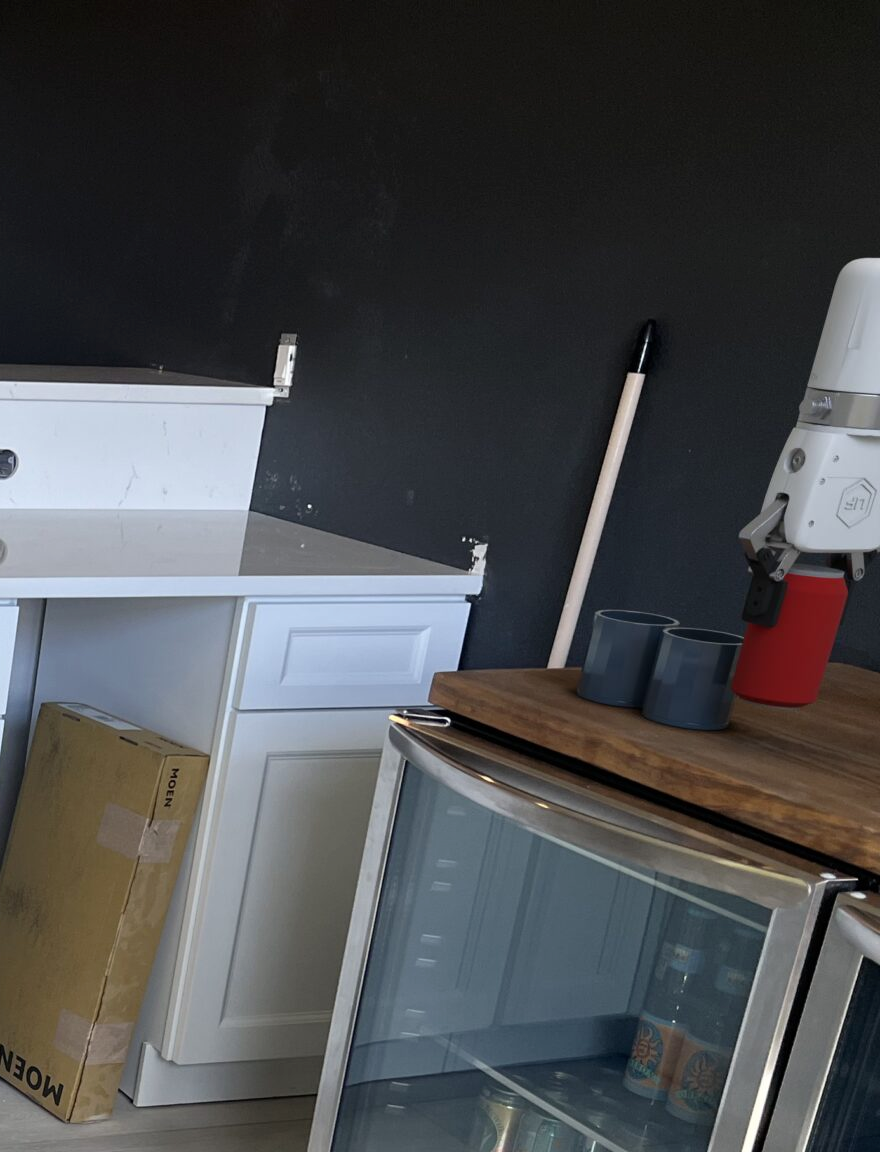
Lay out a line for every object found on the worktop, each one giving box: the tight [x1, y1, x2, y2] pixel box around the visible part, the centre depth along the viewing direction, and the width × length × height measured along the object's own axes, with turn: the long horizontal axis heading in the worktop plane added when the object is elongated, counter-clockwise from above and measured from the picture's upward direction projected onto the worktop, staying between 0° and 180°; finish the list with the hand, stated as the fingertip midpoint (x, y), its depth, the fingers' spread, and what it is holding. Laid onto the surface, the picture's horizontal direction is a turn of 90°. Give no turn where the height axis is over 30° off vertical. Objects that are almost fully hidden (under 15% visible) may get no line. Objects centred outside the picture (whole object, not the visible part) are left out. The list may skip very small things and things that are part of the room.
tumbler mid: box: [641, 627, 744, 731], centre depth 175 cm, size 7×7×8 cm
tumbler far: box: [576, 609, 681, 709], centre depth 182 cm, size 7×7×8 cm
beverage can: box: [731, 562, 848, 710], centre depth 165 cm, size 7×7×12 cm
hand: (791, 621), depth 165 cm, fingers closed on beverage can, 6 cm apart
